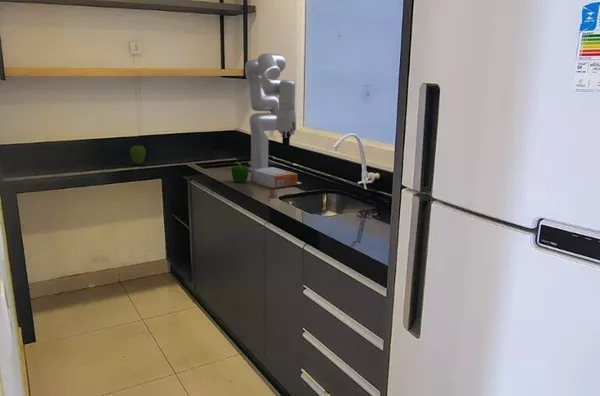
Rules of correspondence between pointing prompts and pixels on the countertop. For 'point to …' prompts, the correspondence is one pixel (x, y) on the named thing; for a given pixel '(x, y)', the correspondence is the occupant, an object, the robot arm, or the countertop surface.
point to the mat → (273, 187)
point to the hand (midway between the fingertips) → (285, 145)
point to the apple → (138, 153)
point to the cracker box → (274, 177)
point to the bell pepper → (240, 173)
